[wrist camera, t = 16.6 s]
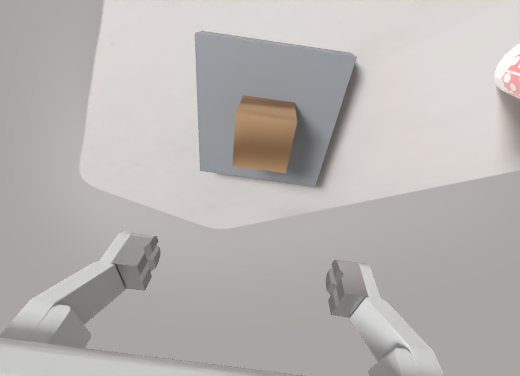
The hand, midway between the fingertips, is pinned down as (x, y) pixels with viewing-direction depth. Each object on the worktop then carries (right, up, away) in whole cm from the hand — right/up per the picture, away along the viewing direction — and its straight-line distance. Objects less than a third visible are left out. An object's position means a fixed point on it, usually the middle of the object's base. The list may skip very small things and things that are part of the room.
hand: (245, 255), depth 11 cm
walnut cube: (+1, +10, +13) cm, 17 cm away
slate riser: (+1, +11, +15) cm, 19 cm away
